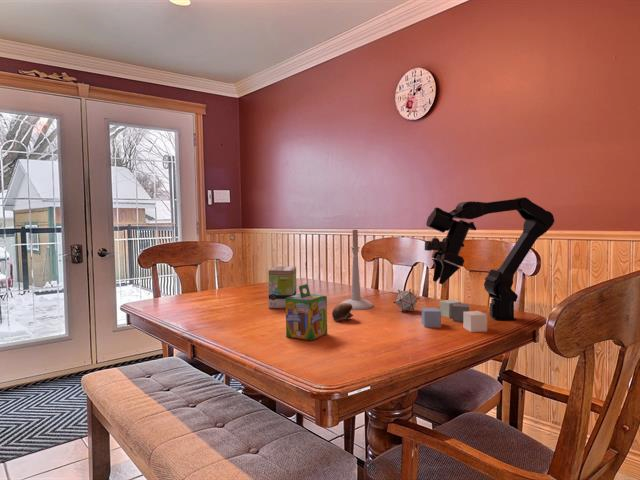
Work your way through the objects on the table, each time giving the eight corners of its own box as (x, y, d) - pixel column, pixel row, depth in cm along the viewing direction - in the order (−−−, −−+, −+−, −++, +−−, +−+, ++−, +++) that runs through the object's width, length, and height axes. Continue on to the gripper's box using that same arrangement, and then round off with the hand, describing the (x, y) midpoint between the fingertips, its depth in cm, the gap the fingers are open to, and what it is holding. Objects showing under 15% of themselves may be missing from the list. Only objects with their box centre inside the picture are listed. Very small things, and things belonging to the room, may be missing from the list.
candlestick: (378, 304, 165) (377, 228, 163) (363, 311, 154) (362, 229, 153) (349, 301, 172) (348, 228, 170) (333, 307, 161) (332, 229, 160)
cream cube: (479, 327, 130) (479, 311, 129) (487, 331, 125) (487, 314, 124) (463, 327, 129) (463, 311, 129) (470, 332, 124) (471, 315, 124)
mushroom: (361, 309, 143) (350, 294, 142) (354, 322, 136) (342, 308, 135) (344, 317, 147) (333, 303, 146) (336, 331, 141) (324, 317, 140)
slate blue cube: (437, 323, 135) (437, 307, 135) (441, 327, 130) (441, 311, 130) (421, 323, 135) (421, 308, 135) (424, 327, 130) (424, 311, 130)
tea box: (294, 308, 161) (293, 269, 161) (268, 308, 161) (267, 270, 161) (297, 300, 176) (296, 265, 176) (273, 300, 176) (272, 265, 176)
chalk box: (311, 341, 117) (310, 288, 116) (285, 337, 122) (283, 286, 121) (328, 333, 125) (328, 284, 124) (303, 329, 129) (302, 282, 129)
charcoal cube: (468, 318, 140) (469, 303, 140) (469, 322, 136) (469, 306, 135) (453, 317, 142) (453, 303, 142) (452, 321, 137) (452, 306, 137)
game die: (411, 322, 152) (419, 303, 145) (388, 313, 153) (396, 294, 147) (415, 306, 158) (423, 287, 152) (393, 297, 160) (401, 279, 154)
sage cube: (451, 313, 148) (451, 299, 148) (461, 316, 143) (461, 302, 143) (439, 315, 146) (439, 300, 146) (449, 318, 142) (449, 303, 141)
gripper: (426, 229, 147) (409, 271, 147) (438, 227, 128) (419, 275, 129) (456, 241, 146) (439, 283, 147) (473, 241, 128) (453, 289, 128)
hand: (437, 282), depth 137 cm, fingers open, 9 cm apart
